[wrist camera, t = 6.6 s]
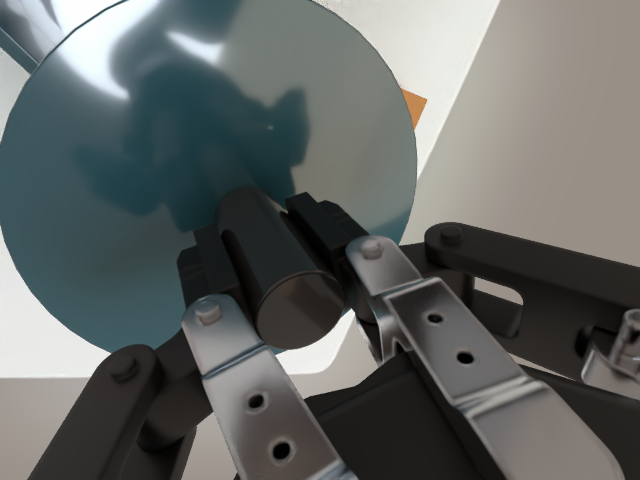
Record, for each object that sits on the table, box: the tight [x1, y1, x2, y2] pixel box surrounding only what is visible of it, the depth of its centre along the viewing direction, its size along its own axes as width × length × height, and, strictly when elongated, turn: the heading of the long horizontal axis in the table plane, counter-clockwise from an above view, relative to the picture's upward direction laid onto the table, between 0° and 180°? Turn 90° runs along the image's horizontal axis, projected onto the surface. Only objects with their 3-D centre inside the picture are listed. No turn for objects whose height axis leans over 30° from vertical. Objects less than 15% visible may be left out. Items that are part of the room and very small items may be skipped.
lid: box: [0, 0, 417, 355], centre depth 12 cm, size 14×14×7 cm
